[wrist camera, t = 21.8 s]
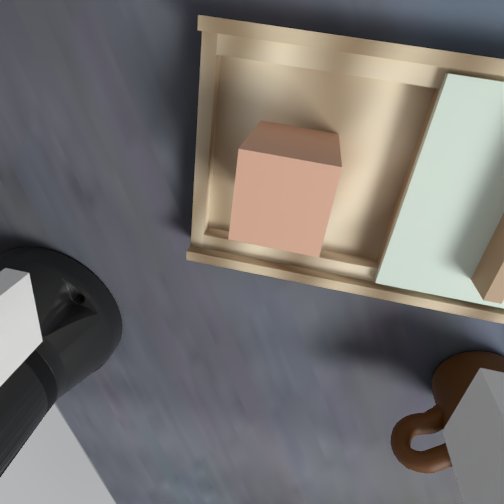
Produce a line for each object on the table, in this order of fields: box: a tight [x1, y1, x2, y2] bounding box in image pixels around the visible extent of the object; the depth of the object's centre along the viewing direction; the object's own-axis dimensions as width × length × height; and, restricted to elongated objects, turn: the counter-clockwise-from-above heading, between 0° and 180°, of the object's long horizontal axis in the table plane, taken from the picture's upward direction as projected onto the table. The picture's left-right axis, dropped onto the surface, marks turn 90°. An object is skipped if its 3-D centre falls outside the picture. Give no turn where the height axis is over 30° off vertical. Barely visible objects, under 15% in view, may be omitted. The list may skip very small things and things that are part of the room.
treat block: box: [228, 121, 342, 257], centre depth 25 cm, size 6×6×8 cm
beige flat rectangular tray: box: [186, 15, 504, 324], centre depth 27 cm, size 30×17×3 cm, turn 83°
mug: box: [391, 351, 504, 473], centre depth 33 cm, size 12×8×9 cm, turn 103°
